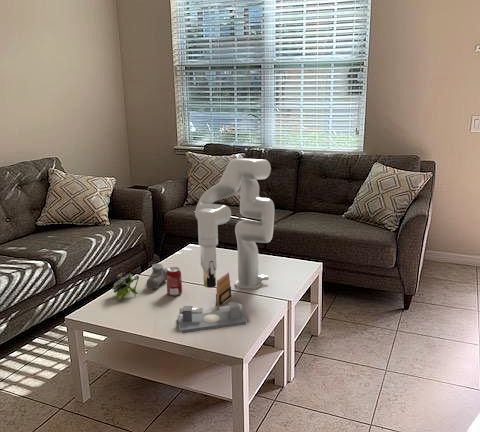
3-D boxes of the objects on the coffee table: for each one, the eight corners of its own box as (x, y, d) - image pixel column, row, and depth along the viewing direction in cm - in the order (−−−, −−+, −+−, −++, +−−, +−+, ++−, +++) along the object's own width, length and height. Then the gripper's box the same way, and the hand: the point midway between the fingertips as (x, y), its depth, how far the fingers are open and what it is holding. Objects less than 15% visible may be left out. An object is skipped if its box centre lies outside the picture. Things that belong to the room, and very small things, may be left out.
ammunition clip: (219, 306, 220) (218, 280, 217) (216, 305, 221) (215, 279, 217) (231, 296, 229) (230, 271, 226) (227, 295, 230) (227, 271, 227)
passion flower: (123, 305, 237) (127, 276, 241) (143, 305, 231) (148, 276, 236) (104, 299, 226) (109, 270, 231) (126, 299, 221) (131, 269, 225)
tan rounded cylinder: (202, 283, 203) (202, 267, 201) (214, 282, 204) (214, 266, 202) (205, 288, 199) (204, 271, 197) (217, 286, 200) (216, 270, 198)
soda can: (179, 297, 230) (178, 272, 226) (165, 296, 231) (163, 271, 228) (184, 291, 236) (182, 266, 233) (170, 290, 237) (168, 266, 234)
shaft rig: (239, 311, 215) (238, 297, 213) (246, 324, 203) (246, 310, 202) (177, 319, 209) (176, 305, 207) (181, 333, 197) (180, 318, 196)
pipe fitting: (154, 278, 250) (153, 259, 246) (169, 281, 248) (169, 262, 244) (143, 290, 240) (142, 271, 235) (159, 293, 238) (158, 274, 233)
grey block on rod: (203, 316, 208) (202, 305, 207) (202, 321, 204) (201, 310, 202) (181, 316, 208) (180, 305, 207) (179, 321, 204) (179, 310, 202)
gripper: (195, 235, 204) (197, 277, 208) (202, 248, 188) (204, 294, 193) (213, 233, 205) (215, 275, 210) (222, 246, 189) (223, 291, 194)
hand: (209, 283), depth 201 cm, fingers closed on tan rounded cylinder, 4 cm apart
